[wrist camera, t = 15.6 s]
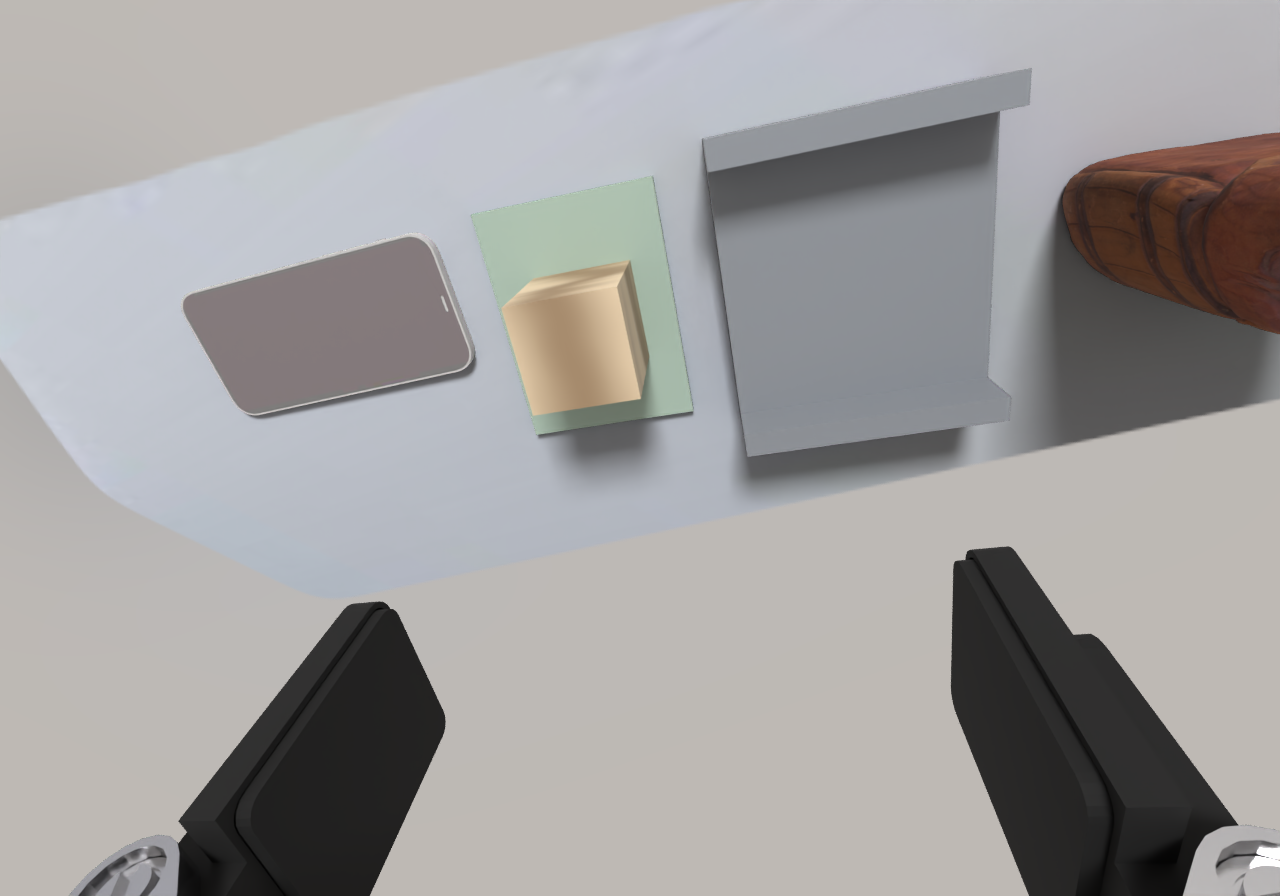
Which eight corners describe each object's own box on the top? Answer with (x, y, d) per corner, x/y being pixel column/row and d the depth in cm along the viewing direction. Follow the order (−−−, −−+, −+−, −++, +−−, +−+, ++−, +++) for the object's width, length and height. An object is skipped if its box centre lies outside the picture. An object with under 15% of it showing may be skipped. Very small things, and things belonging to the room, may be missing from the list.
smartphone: (171, 295, 34) (425, 228, 31) (184, 291, 34) (432, 225, 32) (242, 419, 37) (477, 368, 34) (252, 413, 38) (483, 362, 35)
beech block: (630, 259, 31) (616, 286, 26) (649, 355, 33) (640, 399, 28) (533, 278, 32) (501, 308, 26) (558, 370, 34) (533, 415, 28)
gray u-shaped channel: (981, 77, 27) (1031, 68, 23) (971, 385, 33) (1009, 420, 29) (702, 138, 29) (703, 140, 25) (741, 419, 35) (747, 456, 31)
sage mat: (652, 175, 29) (652, 176, 29) (693, 408, 35) (693, 411, 34) (473, 213, 31) (470, 215, 31) (537, 431, 36) (536, 434, 36)
